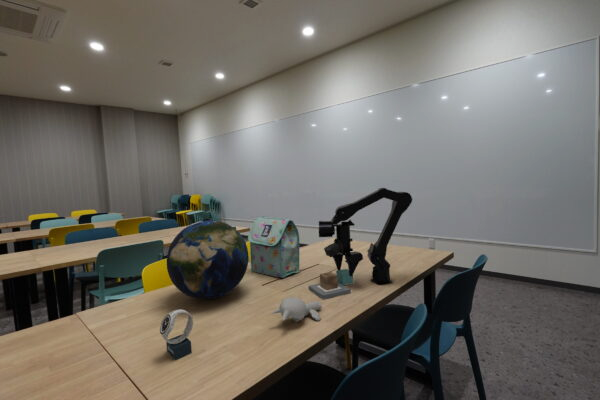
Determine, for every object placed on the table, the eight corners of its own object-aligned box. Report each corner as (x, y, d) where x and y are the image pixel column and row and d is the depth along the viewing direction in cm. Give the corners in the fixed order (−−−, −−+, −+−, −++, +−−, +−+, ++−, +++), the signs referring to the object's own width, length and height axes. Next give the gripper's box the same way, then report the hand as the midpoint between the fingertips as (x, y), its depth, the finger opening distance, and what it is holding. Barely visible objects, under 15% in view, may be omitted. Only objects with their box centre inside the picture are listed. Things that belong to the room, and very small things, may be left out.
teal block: (346, 280, 127) (346, 268, 127) (353, 283, 122) (352, 271, 122) (336, 282, 125) (336, 270, 125) (343, 285, 120) (342, 273, 120)
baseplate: (334, 283, 123) (334, 280, 123) (350, 293, 112) (350, 289, 112) (308, 289, 118) (308, 285, 118) (323, 299, 107) (322, 295, 107)
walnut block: (331, 284, 118) (330, 271, 118) (337, 287, 113) (337, 275, 113) (320, 286, 116) (319, 274, 116) (326, 290, 111) (325, 277, 111)
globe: (213, 279, 136) (208, 215, 134) (265, 288, 121) (261, 216, 119) (152, 304, 110) (145, 225, 108) (209, 320, 95) (203, 228, 93)
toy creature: (336, 304, 95) (293, 317, 80) (328, 324, 96) (285, 340, 82) (309, 283, 103) (265, 292, 89) (302, 302, 104) (258, 313, 90)
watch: (159, 355, 76) (156, 313, 76) (189, 342, 82) (187, 303, 81) (166, 364, 72) (163, 320, 72) (198, 350, 78) (195, 309, 77)
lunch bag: (246, 272, 144) (243, 218, 142) (271, 264, 156) (268, 214, 155) (280, 281, 129) (277, 220, 127) (304, 271, 141) (301, 216, 140)
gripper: (315, 235, 128) (317, 270, 129) (338, 242, 111) (340, 283, 112) (337, 232, 132) (339, 266, 133) (362, 239, 115) (364, 278, 116)
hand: (344, 273), depth 123 cm, fingers open, 9 cm apart
